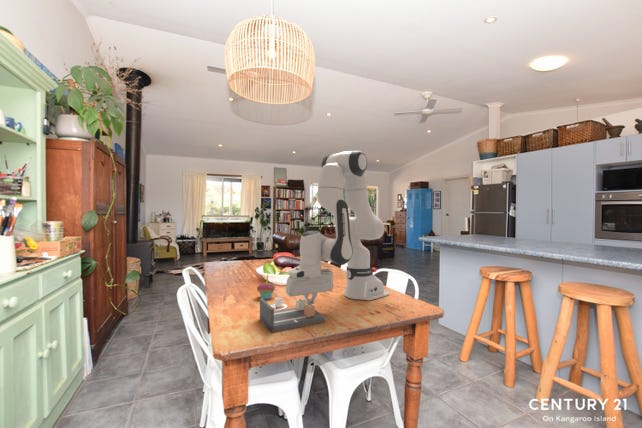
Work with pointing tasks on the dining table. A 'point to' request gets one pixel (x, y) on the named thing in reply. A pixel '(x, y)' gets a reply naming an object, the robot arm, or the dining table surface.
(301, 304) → the cream fader knob
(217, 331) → the dining table surface
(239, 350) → the dining table surface
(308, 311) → the terracotta fader knob
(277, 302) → the teacup and saucer
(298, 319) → the console
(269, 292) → the cupcake
